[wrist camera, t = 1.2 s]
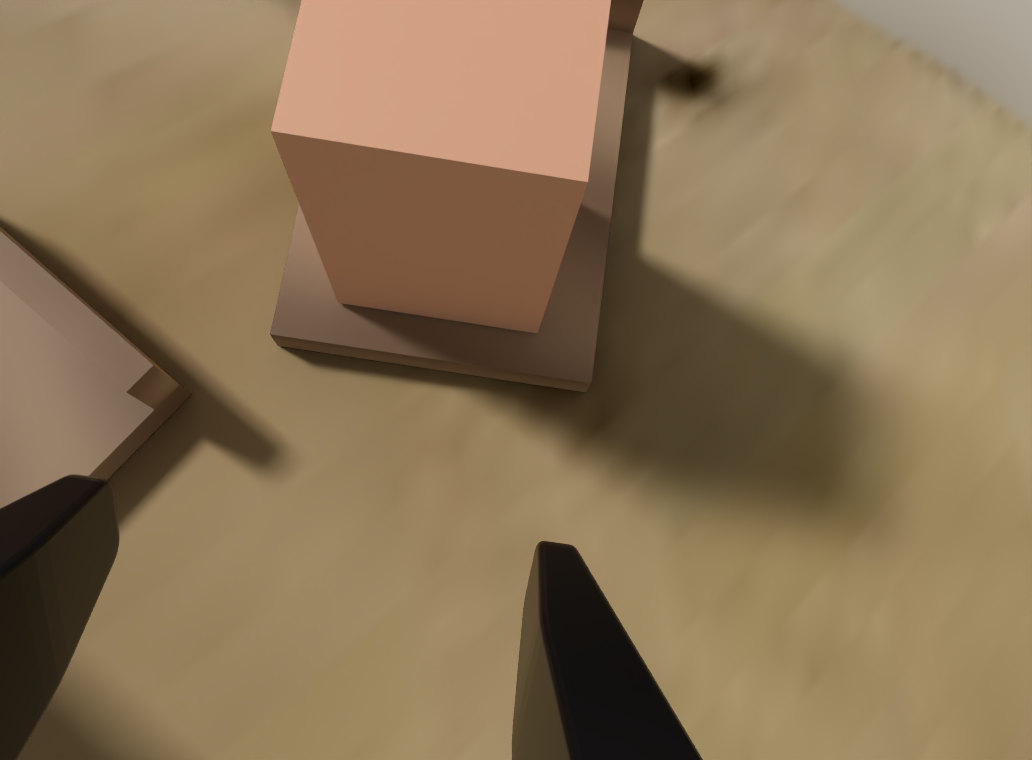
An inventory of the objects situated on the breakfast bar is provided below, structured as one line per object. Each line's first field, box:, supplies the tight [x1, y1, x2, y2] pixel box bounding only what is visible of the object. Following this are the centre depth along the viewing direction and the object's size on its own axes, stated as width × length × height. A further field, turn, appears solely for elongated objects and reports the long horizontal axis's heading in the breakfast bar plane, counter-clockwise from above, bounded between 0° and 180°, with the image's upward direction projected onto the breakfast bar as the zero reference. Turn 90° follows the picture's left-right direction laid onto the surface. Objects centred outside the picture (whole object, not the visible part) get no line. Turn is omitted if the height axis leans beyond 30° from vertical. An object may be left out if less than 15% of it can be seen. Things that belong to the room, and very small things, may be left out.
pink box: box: [271, 0, 611, 333], centre depth 18 cm, size 4×5×8 cm
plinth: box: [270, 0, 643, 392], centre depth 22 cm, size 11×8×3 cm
